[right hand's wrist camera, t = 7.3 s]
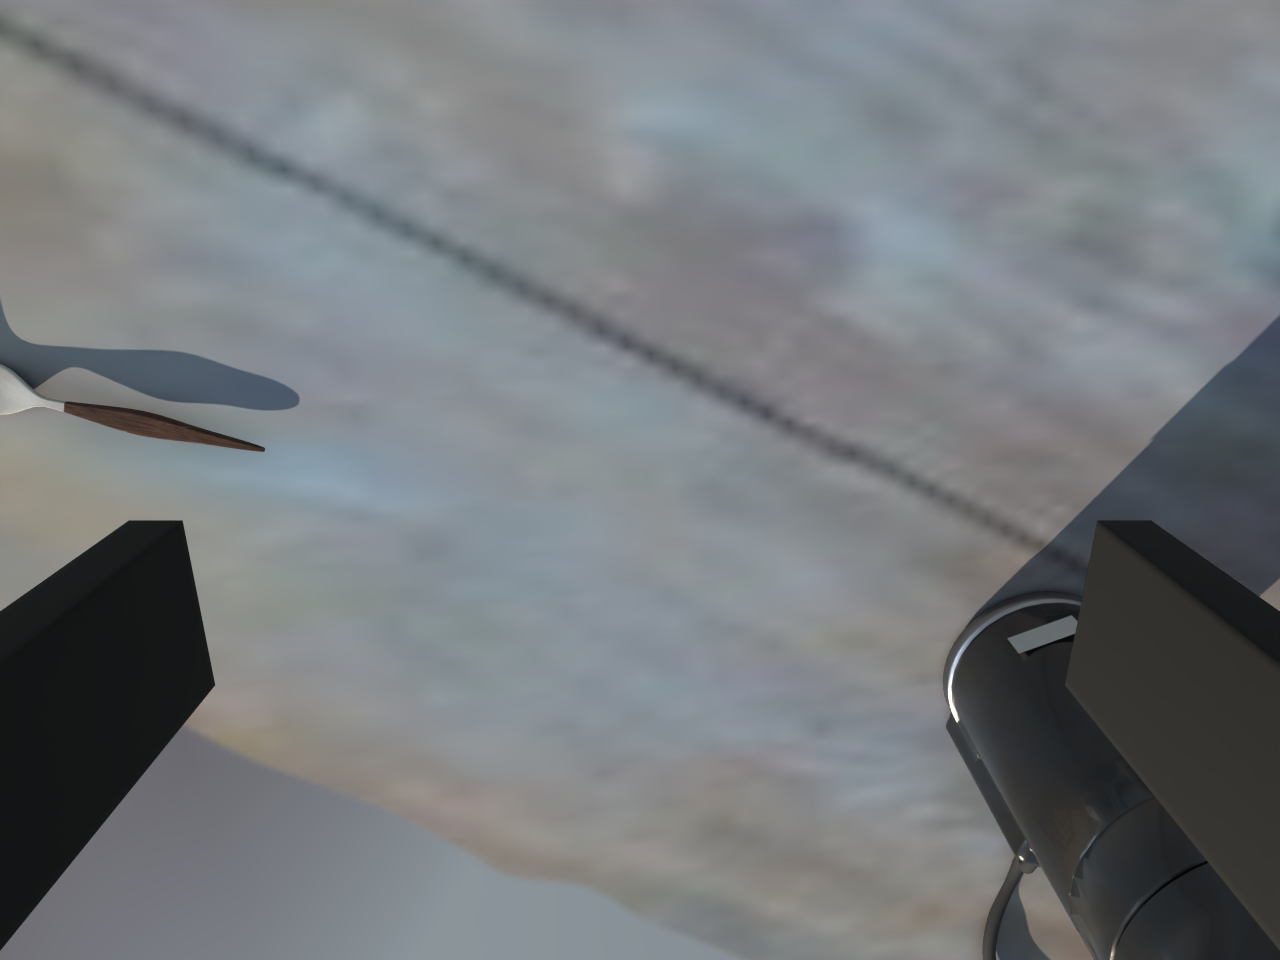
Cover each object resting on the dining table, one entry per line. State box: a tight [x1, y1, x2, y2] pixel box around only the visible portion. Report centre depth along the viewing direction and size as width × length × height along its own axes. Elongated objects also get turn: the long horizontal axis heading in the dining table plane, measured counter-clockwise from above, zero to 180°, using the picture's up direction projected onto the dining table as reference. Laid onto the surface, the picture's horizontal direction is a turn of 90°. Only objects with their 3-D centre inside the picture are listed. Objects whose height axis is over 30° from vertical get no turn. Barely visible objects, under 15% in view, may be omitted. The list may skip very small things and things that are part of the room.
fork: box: [0, 364, 265, 452], centre depth 39 cm, size 3×16×2 cm, turn 77°
